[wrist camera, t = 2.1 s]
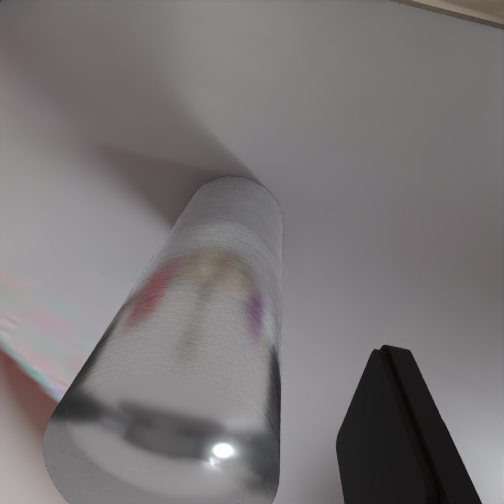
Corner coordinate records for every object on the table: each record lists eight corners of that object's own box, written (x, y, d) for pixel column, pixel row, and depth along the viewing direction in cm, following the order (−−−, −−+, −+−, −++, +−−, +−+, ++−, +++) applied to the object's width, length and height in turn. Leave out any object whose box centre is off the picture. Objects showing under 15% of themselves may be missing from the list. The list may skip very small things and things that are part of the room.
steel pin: (294, 189, 18) (308, 405, 7) (269, 277, 20) (249, 566, 9) (194, 165, 18) (48, 346, 7) (178, 256, 19) (39, 521, 8)
